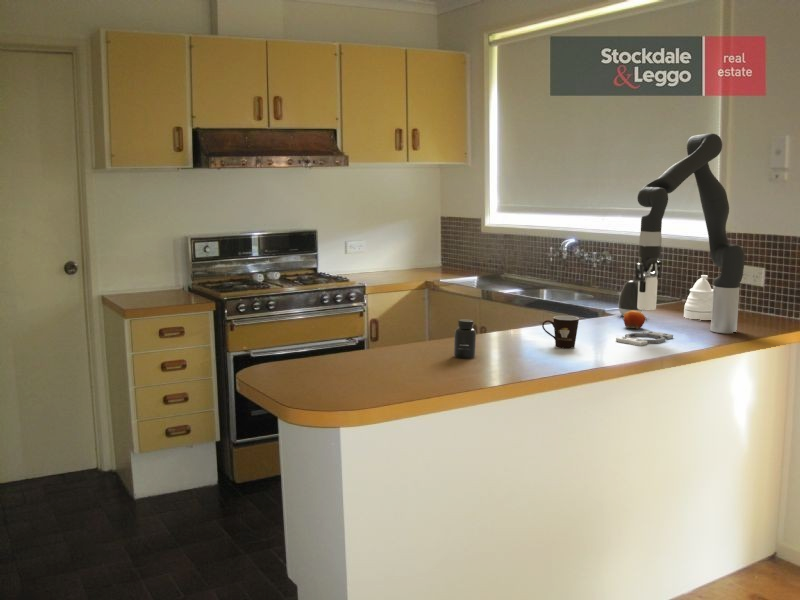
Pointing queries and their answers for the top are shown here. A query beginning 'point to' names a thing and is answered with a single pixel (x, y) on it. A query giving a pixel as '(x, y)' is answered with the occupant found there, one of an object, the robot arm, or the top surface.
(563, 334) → the coffee mug
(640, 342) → the octagonal ring bracket
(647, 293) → the can
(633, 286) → the pump dispenser
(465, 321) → the supplement bottle
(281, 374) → the top surface
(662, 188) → the robot arm
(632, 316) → the fruit
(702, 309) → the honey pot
